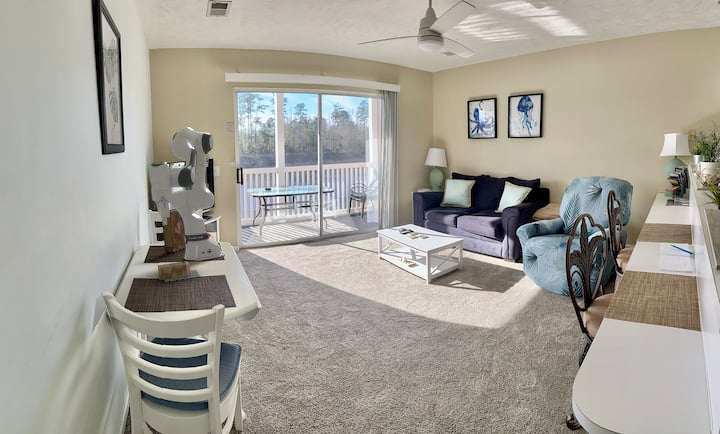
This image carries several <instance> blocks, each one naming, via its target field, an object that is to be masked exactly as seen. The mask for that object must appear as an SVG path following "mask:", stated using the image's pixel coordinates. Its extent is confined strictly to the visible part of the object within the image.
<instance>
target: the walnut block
mask: <svg viewBox="0 0 720 434" xmlns="http://www.w3.org/2000/svg"><path fill="white" fill-rule="evenodd" d="M190 267H191V266H190V263H189V260H186V261H181V262H180V261H179V262H173V263H167V264H166V263H165V264H159V265H157V271H158V279H159V281H165V279H171V278H178V277H184V276H190V270H191V268H190Z"/></svg>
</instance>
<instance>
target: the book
mask: <svg viewBox="0 0 720 434" xmlns="http://www.w3.org/2000/svg"><path fill="white" fill-rule="evenodd" d="M169 212H170V217H169V218H167V225H163V222H162V221H161V222H162V223H161V226H162V235H163V244H164V252H165V253H173V252H175V251H177V252H179V251H178V250H180V249H182V250H184V249H183V248H185V249H186V244H185V240H184V234H185V229H184V223H183V219H182V217H181V215H180V214H179V212H178V211H177V210H176V209H175V208H172V209H169ZM180 251H181V250H180ZM175 253H176V252H175Z"/></svg>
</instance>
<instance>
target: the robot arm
mask: <svg viewBox="0 0 720 434" xmlns="http://www.w3.org/2000/svg"><path fill="white" fill-rule="evenodd" d="M214 141H215V140H214V137H213V135H212V134H211V133H209V132H205V131H204V132H202V131H195V130H194V128H191V127H188V126H186V127H182V128H180V129H179V130H178V131H177V132H176V133H174V134H173V137H172V141H171V144H170V151H171V153H172V154H173V156H174V157H176V158H178V159H179V160H181V161H182V160H183V161H186V162H185V166H181V167H169V165H168V162H167V161H155V162H153V163H151V164H150V165H149V181H150V182H149V183H150V184H151V189H150V191H151V200H152V202H155V203H154V204H156V209H157V212H158V214H159V216H160V217H161V222H163V225H167V218H169V217H170V212H169V210H170V206H171V207H172V209H176V210H177V211H178V212H179V214H180V215H181V217H182V219H183V223H184V229H185V234H184V240H185V244H186V248H185V250H184V251H185V252H184V260H186V261H198V262H199V261H205V260H210V259H216V258H217V259H218V258H222V257H225V256H226V252H225V251H223V250H222V248H221V246H220V244H219V243H218V242H217V241H215V240H213V239H212V238H211V237H212V234H211V233H208V232H206V226H205V225H206V223H205V218H203V216H201V215H199V214H198V213H197V212H196V210H206V209H210V208H212V207H213V206H214V204H215V195H214V194H213V192H212V191H210V189H209V188H208V186H207V184H206V172H207V171H206V170H207V155H208V154H209V152H211V151H212V149H213V148H214V143H215V142H214ZM172 188H187V189H183V190H182V189H181V190H175V191H173V192H172ZM190 188H191V189H190ZM169 204H170V206H169Z"/></svg>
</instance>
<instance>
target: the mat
mask: <svg viewBox="0 0 720 434" xmlns="http://www.w3.org/2000/svg"><path fill="white" fill-rule="evenodd" d="M200 277H201V275H200V273H199V272H198V270H197V269H190V276H184V277H178V278H171V279H165V280H164V283H169V281H171V282H176V280H178V281H182V279H184V280H191V279H198V278H200ZM190 278H191V279H190Z"/></svg>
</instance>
